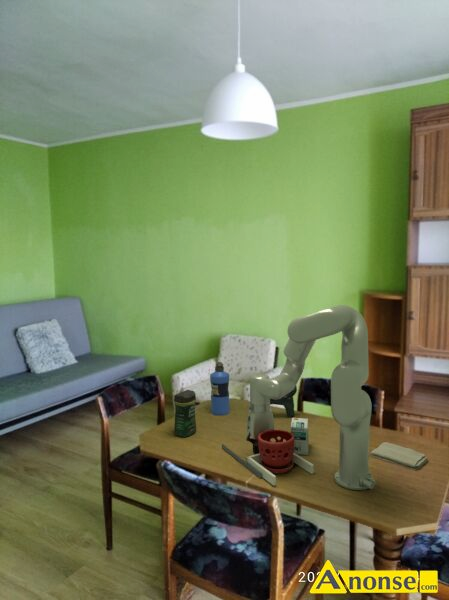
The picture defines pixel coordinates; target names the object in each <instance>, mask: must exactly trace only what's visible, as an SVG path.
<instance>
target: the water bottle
mask: <svg viewBox="0 0 449 600" xmlns="http://www.w3.org/2000/svg"><path fill="white" fill-rule="evenodd" d="M214 370H215V371H214V372H212V373H210V375H209V377H210V378H209V381H210V387H211V391H210V413H211V414H212V415H213V416H218V417H219V416H227V415H229V414H230V393H229V392H230V391H229V385H230V373H228V372H226V371H225V366H224V363H223V362H221V361H218V362H217V363H216V364H215V369H214Z"/></svg>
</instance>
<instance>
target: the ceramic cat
mask: <svg viewBox="0 0 449 600" xmlns="http://www.w3.org/2000/svg"><path fill="white" fill-rule="evenodd" d="M297 388H298V387H297V385H296V386H295V388H294V389H293V390H292V391H291V392H289V393H288V394H286V395H285V396H283V397H282V398H280V399H277V400H274V399H270V406H271V405H276V406H283V408H284V409H285V412H286V413H285V414H286V418H287V419H289V418H291V419H292V418H295V401H294V396H295V395H296V393H297V391H298V389H297Z"/></svg>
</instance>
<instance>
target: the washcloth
mask: <svg viewBox="0 0 449 600" xmlns="http://www.w3.org/2000/svg"><path fill="white" fill-rule="evenodd" d="M369 457H372V458H376V459H378V460H381V461H384V462H387V463H390V464H394V465H397V466H400V467H403V468H406V469H408V470H412V471H416V470H419V469H420V468H421V467H423V465H424V464H426V463H427V462H428V460H429V459H428V458H429V457H427V456H425V453H421V452H418V451H416V450H415V449H413V448H407V447H404V446H402V445H398V444H394V443H390V442H386V441H385V442H382V443H381V444H380V445H379V446H378V447H376V448H375V449H372V451H371V452H369Z"/></svg>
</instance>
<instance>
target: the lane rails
mask: <svg viewBox="0 0 449 600" xmlns="http://www.w3.org/2000/svg"><path fill="white" fill-rule="evenodd" d="M270 442H273V441H272V440H270ZM221 449H222V450H224V452H226V453H227V454H228V455H230V456H231V457H232V458H233V459H235V460H236V461H237V462H238V463H240V464H241V465H242V466H243V467H244V468H246V469H247V470H249V472H251V473H253V474H254V475H255V476H256V477H258V479H260V480H261V479H262V478H263V477H262V474H261V473H259V472H258V471H257V470H256V469H254V468H253V467H252V466H250V465H249V464H248V463H247V461H245V460H244V459H243V458H241V457H240V456H239V455H237V454H236V453H235V452H234V451H232V449H230V448H228V446H226V445H224V443H223V444H221Z"/></svg>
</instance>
